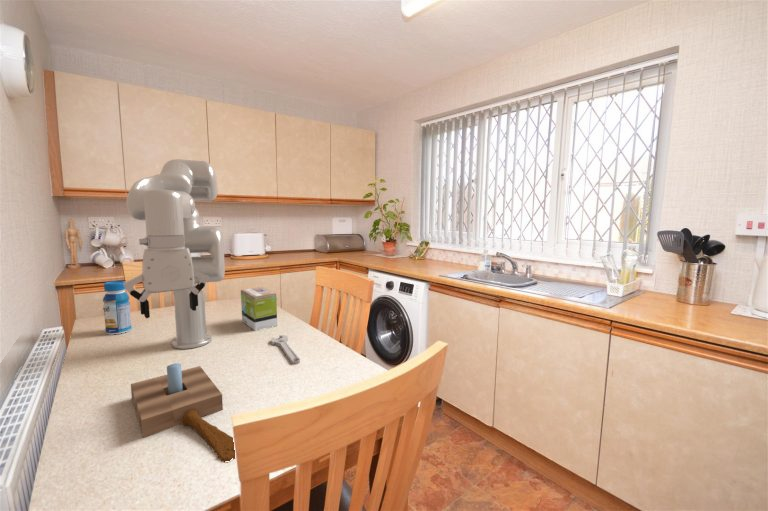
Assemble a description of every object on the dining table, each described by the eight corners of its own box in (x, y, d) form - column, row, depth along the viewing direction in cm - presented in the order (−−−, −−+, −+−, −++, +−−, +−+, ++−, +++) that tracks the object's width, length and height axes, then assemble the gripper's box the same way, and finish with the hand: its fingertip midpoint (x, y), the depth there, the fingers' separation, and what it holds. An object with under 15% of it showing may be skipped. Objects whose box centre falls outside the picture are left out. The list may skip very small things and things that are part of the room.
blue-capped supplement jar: (131, 332, 133) (127, 282, 131) (104, 336, 129) (99, 285, 126) (132, 326, 140) (128, 279, 138) (106, 330, 136) (102, 281, 133)
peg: (168, 403, 85) (165, 365, 84) (181, 399, 87) (179, 362, 86) (170, 408, 83) (168, 369, 81) (184, 404, 85) (182, 366, 83)
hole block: (131, 398, 87) (130, 384, 86) (200, 379, 97) (199, 365, 97) (143, 437, 72) (141, 420, 72) (222, 409, 83) (222, 394, 82)
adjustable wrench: (301, 364, 109) (301, 359, 109) (280, 368, 106) (280, 363, 106) (286, 338, 131) (286, 333, 131) (269, 340, 128) (269, 336, 128)
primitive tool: (250, 449, 70) (250, 433, 69) (226, 466, 65) (225, 449, 64) (196, 419, 79) (195, 405, 79) (172, 432, 75) (171, 418, 74)
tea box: (241, 322, 148) (239, 289, 146) (263, 317, 155) (262, 286, 153) (254, 331, 137) (253, 295, 135) (278, 326, 144) (277, 292, 142)
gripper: (121, 246, 72) (128, 324, 74) (210, 242, 83) (213, 310, 85) (118, 243, 77) (124, 316, 79) (202, 240, 89) (205, 303, 91)
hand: (170, 313), depth 82 cm, fingers open, 9 cm apart
